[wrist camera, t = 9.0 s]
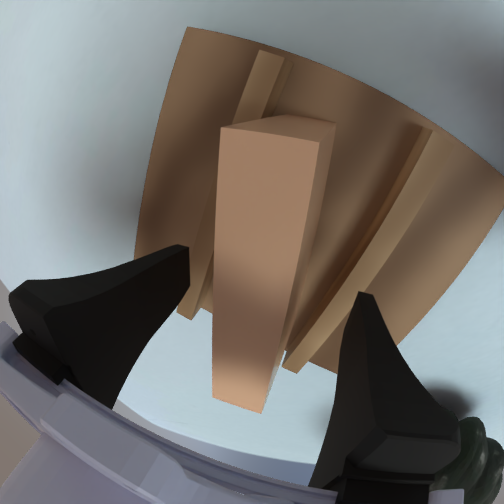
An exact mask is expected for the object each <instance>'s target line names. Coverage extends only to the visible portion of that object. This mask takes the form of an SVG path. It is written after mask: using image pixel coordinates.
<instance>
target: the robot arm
mask: <svg viewBox="0 0 504 504" xmlns="http://www.w3.org/2000/svg"><path fill="white" fill-rule="evenodd" d="M189 287H190V257H189V247H187V246H183V245H179V244H175V245H172V246H169V247H166V248H164V249H161V250H158V251H156V252H153V253H151V254H148V255H146V256H143V257H141V258H138V259H136V260H133V261H130V262H127V263H124V264H122V265H119V266H116V267H113V268H110V269H106V270H102V271H99V272H95V273H90V274H85V275H80V276H75V277H68V278H60V279H47V280H26V281H25V282H23V283H22V284H21V285H20V286H18V287H17V288H16V289H14V290H13V291H12V292H11V293H10V294H9V303H10V306H11V309H12V311H13V313H14V315H15V318H16V320H17V322H18V324H19V326H20V328H21V330H22V332H23V333H22V334H20V335H19V336H18V334H17V333H16V332H15V331H14V330H13V329H12V328H11V327H10V326H9V325H8V324H7V323H6V322H5V321H2V322H1V323H0V393H1V394H2V395H3V396H4V398H5V399H6V400H7V401H8V402H9V403H10V404H11V405H12V406H13V407H14V408H15V410H16V411H17V412H18V413H19V414H20V415H21V416H22V417H23V418H24V419H25V420H26V421H27V422H28V423H29V424H30V425H31V426H32V427H33V428H35V429H36V430H37V431H38V432H39V433H40V434H41V436H40V437H39V438H38V440H37V441H36V442H35V443H34V445H33V446H32V447H31V449H30V450H29V451H28V452H27V453H26V455H25V456H24V457H23V459H22V460H21V461H20V463H19V464H18V465H17V466H16V468H15V469H14V470H13V472H12V473H11V474H10V475H9V477H8V478H7V480H6V481H5V482H4V484H3V485H2V486H1V488H0V504H463V502H464V490H463V489H451V490H436V491H432V492H429V487H430V484H433V483H434V481H435V472H437V471H439V470H440V469H442V468H443V467H445V466H446V465H448V464H449V463H451V462H452V461H453V460H454V459H455V458H456V457H457V456H458V455H459V453H460V452H461V438H460V428H459V423H458V422H457V421H456V420H455V419H454V418H453V417H452V416H450V415H449V414H448V413H447V412H446V411H445V410H444V409H443V408H442V407H441V406H440V405H439V404H438V403H437V402H436V401H435V400H434V398H433V397H432V396H431V395H430V394H429V393H428V392H427V390H426V389H425V388H424V387H423V385H422V384H421V383H420V381H419V380H418V379H417V378H416V376H415V375H414V373H413V372H412V371H411V369H410V368H409V366H408V365H407V363H406V361H405V360H404V358H403V357H402V355H401V353H400V352H399V350H398V348H397V346H396V344H395V342H394V340H393V338H392V336H391V334H390V332H389V330H388V328H387V326H386V324H385V321H384V319H383V317H382V314H381V312H380V310H379V307H378V305H377V302H376V300H375V298H374V296H373V294H369V293H365V292H361V291H358V293H357V296H356V299H355V302H354V304H353V307H352V310H351V312H350V315H349V317H348V320H347V323H346V325H345V328H344V332H343V337H342V342H341V347H340V354H339V364H338V374H337V384H336V392H335V399H334V405H333V409H332V413H331V417H330V421H329V425H328V428H327V432H326V435H325V439H324V442H323V445H322V448H321V451H320V454H319V458H318V460H317V463H316V466H315V469H314V472H313V475H312V477H311V480H310V482H309V485H308V486H303V485H298V484H293V483H289V482H285V481H281V480H277V479H273V478H269V477H266V476H262V475H259V474H256V473H252V472H249V471H246V470H243V469H240V468H237V467H234V466H231V465H228V464H225V463H222V462H220V461H217V460H214V459H211V458H209V457H206V456H204V455H201V454H199V453H196V452H194V451H192V450H189V449H187V448H185V447H182V446H180V445H178V444H175V443H173V442H171V441H169V440H167V439H165V438H163V437H161V436H159V435H157V434H155V433H153V432H151V431H149V430H147V429H145V428H143V427H141V426H139V425H137V424H135V423H134V422H132V421H130V420H128V419H126V418H124V417H123V416H121V415H119V414H118V413H116V412H114V411H113V410H112V409H113V406H114V404H115V402H116V399H117V397H118V395H119V393H120V391H121V389H122V387H123V385H124V383H125V381H126V379H127V377H128V375H129V373H130V371H131V369H132V368H133V366H134V364H135V362H136V361H137V359H138V357H139V356H140V354H141V353H142V351H143V349H144V348H145V346H146V345H147V343H148V342H149V340H150V339H151V338H152V336H153V335H154V334H155V333H156V331H157V330H158V329H159V328H160V327H161V325H162V324H163V323H164V322H165V321H166V319H167V318H168V317H169V316H170V314H171V313H172V312H173V311H174V310H175V308H176V307H177V306H178V305H179V303H180V302H181V300H182V299H183V297H184V296H185V294H186V292H187V290H188V289H189ZM232 490H233V491H232ZM235 491H236V492H235ZM237 492H239V493H237ZM240 493H242V494H245V495H242V494H240Z"/></svg>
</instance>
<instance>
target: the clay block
mask: <svg viewBox="0 0 504 504" xmlns="http://www.w3.org/2000/svg"><path fill="white" fill-rule="evenodd" d="M336 124H337V123H334V122H329V121H324V120H319V119H313V118H307V117H302V116H296V115H289V114H285V115H279V116H274V117H268V118H263V119H258V120H252V121H248V122H243V123H238V124H234V125H229V126H225V127H221V133H220V147H219V162H218V179H217V197H216V217H215V242H214V272H213V321H212V396H213V398H216V399H219V400H221V401H224V402H227V403H230V404H233V405H236V406H238V407H241V408H244V409H247V410H251V411H254V412H257V413H260V414H261V413H262V410H263V408H264V405H265V403H266V400H267V397H268V395H269V392H270V389H271V387H272V384H273V381H274V379H275V376H276V373H277V370H278V367H279V365H280V362H281V359H282V356H283V353H284V350H285V348H286V345H287V342H288V339H289V336H290V333H291V330H292V327H293V324H294V321H295V318H296V315H297V312H298V308H299V304H300V300H301V296H302V292H303V288H304V284H305V279H306V275H307V271H308V267H309V262H310V258H311V254H312V249H313V245H314V240H315V236H316V231H317V226H318V222H319V217H320V212H321V207H322V202H323V197H324V192H325V187H326V182H327V176H328V171H329V166H330V160H331V154H332V149H333V143H334V137H335V131H336Z"/></svg>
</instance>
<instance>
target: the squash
mask: <svg viewBox="0 0 504 504" xmlns="http://www.w3.org/2000/svg"><path fill="white" fill-rule="evenodd" d="M444 410H445V411H446V412H447V413H448V414H449V415H450V416H452V417H453V418H454V419H455V420H456V421H457V422H458V419H457V417H456V416H455V414H454V413H453V412H452V411H450V410H447V409H444ZM458 423H459V428H460V438H461V452H460V453H459V455H458V456H457V457H456V458H455V459H454V460H453V461H452V462H451V463H449V464H448V465H446V466H445V467H443V468H442V469H440V470H439V471H437V472H435V481H434V483H433V484H430V487H429V492H432V491H436V490H451V489H463V490H464V502H463V504H492V503H493V501H494V500H495V498H496V496H497V494H498V493H499V490H500V487H501V483H502V471H503V468H504V450H503V448H502V446H501V445H500V444H499V443H498V442H497V441H496V440H494V439H492V438H487V437H486V432H485V427H484V424H483V422H482V421H481V420H480V419H479V418H477V417H467V418H465V419H463V420H461V421H459V422H458Z"/></svg>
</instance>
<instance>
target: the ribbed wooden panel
mask: <svg viewBox="0 0 504 504" xmlns="http://www.w3.org/2000/svg"><path fill="white" fill-rule="evenodd" d="M285 114H289V115H296V116H302V117H307V118H313V119H319V120H324V121H329V122H334V123H337V124H336V131H335V137H334V143H333V149H332V154H331V160H330V166H329V171H328V176H327V182H326V187H325V192H324V197H323V202H322V207H321V212H320V217H319V222H318V226H317V231H316V236H315V240H314V245H313V249H312V254H311V258H310V262H309V267H308V271H307V275H306V279H305V284H304V288H303V292H302V296H301V300H300V304H299V308H298V312H297V315H296V318H295V321H294V324H293V327H292V330H291V333H290V336H289V339H288V342H287V345H286V348H285V351H287V352H286V355H285V358H284V361H283V364H282V367H283V368H285V369H287V370H290V371H292V372H294V373H296V374H297V373H298V372H299V371H300V369H301V368H302V367H303V366H304V365H305V364H306V363H307V362H308V361H309V362H311V363H313V364H316V365H318V366H320V367H322V368H325V369H327V370H329V371H331V372H334V373H336V374H338V364H339V354H340V347H341V342H342V337H343V332H344V328H345V325H346V323H347V320H348V317H349V315H350V312H351V310H352V307H353V304H354V302H355V299H356V296H357V293H358V291H361V292H365V293H369V294H373V296H374V298H375V300H376V302H377V305H378V307H379V310H380V312H381V314H382V317H383V319H384V321H385V324H386V326H387V328H388V330H389V332H390V334H391V336H392V338H393V340H394V342H395V344H396V346H397V345H398V344H399V343H400V342H401V341H402V340H403V339H404V338H405V337H406V336H407V334H408V333H409V332H410V331H411V330H412V329H413V328H414V327H415V326H416V325H417V324H418V323H419V322H420V320H421V319H422V318H423V317H424V316H425V315H426V314H427V313H428V312H429V310H430V309H431V308H432V307H433V306H434V305H435V303H436V302H437V301H438V300H439V299H440V297H441V296H442V295H443V294H444V293H445V291H446V290H447V289H448V288H449V286H450V285H451V284H452V283H453V281H454V280H455V279H456V278H457V276H458V275H459V274H460V272H461V271H462V270H463V268H464V267H465V266H466V264H467V263H468V261H469V260H470V259H471V257H472V256H473V255H474V253H475V252H476V250H477V249H478V247H479V246H480V244H481V243H482V241H483V240H484V238H485V237H486V235H487V234H488V232H489V231H490V229H491V228H492V226H493V225H494V223H495V221H496V220H497V218H498V216H499V215H500V213H501V211H502V210H503V208H504V176H503V175H502V174H500V173H499V172H498V171H497V170H496V169H495V168H494V167H492V166H491V165H490V164H489V163H488V162H486V161H485V160H484V159H483V158H482V157H480V156H479V155H478V154H477V153H475V152H474V151H473V150H471V149H470V148H469V147H467V146H466V145H465V144H463V143H462V142H461V141H459V140H458V139H457V138H455V137H454V136H452V135H451V134H450V133H448V132H447V131H445V130H444V129H442V128H441V127H439V126H438V125H436V124H435V123H433V122H432V121H430V120H429V119H427V118H426V117H424V116H422V115H421V114H419V113H418V112H416V111H414V110H413V109H411V108H409V107H408V106H406V105H404V104H402V103H401V102H399V101H397V100H395V99H394V98H392V97H390V96H388V95H386V94H384V93H382V92H381V91H379V90H377V89H375V88H373V87H371V86H369V85H367V84H365V83H363V82H361V81H359V80H356V79H354V78H352V77H350V76H348V75H346V74H343V73H341V72H339V71H337V70H334V69H332V68H329V67H327V66H325V65H322V64H320V63H317V62H315V61H312V60H309V59H307V58H304V57H301V56H298V55H296V54H293V53H290V52H287V51H284V50H281V49H278V48H275V47H272V46H268V45H265V44H262V43H258V42H255V41H251V40H247V39H243V38H240V37H236V36H231V35H227V34H223V33H218V32H214V31H209V30H204V29H198V28H193V27H187V29H186V31H185V34H184V37H183V40H182V43H181V45H180V48H179V51H178V54H177V57H176V61H175V64H174V67H173V70H172V73H171V77H170V80H169V83H168V87H167V90H166V94H165V97H164V101H163V105H162V109H161V112H160V116H159V120H158V124H157V128H156V133H155V137H154V141H153V146H152V150H151V155H150V160H149V165H148V170H147V175H146V180H145V185H144V191H143V197H142V203H141V209H140V216H139V222H138V229H137V237H136V245H135V253H134V260H136V259H138V258H141V257H143V256H146V255H148V254H151V253H153V252H156V251H158V250H161V249H164V248H166V247H169V246H172V245H175V244H179V245H183V246H187V247H189V257H190V287H189V289H188V290H187V292H186V294H185V296H184V297H183V299H182V300H181V302H180V303H179V305H178V308H177V313H179V314H180V315H182V316H184V317H186V318H187V319H189V320H192V319H193V317H194V316H195V315H196V313H197V312H198V311H199V309H200V308H203V309H205V310H207V311H209V312H210V313H212V314H213V272H214V242H215V217H216V197H217V179H218V162H219V147H220V133H221V127H225V126H229V125H234V124H238V123H243V122H248V121H252V120H258V119H263V118H268V117H274V116H279V115H285Z"/></svg>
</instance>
